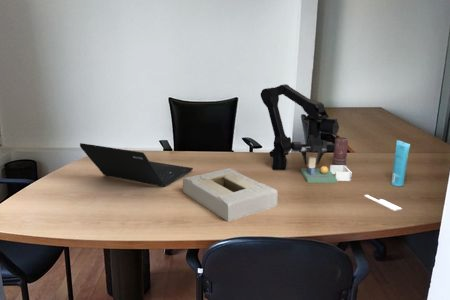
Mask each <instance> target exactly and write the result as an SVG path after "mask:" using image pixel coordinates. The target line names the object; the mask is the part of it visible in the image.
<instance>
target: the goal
mask: <svg viewBox="0 0 450 300" xmlns="http://www.w3.org/2000/svg"><path fill="white" fill-rule="evenodd" d="M329 170H330V171H331V172H332V174H333V175H334V176H335V177H336V179H337V182H339V181H340V182H351V181H352V175H353V172H352V171H351V170H350V169H349V168H348V166H347V165H333V164H330V165H329Z"/></svg>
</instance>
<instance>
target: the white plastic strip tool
mask: <svg viewBox="0 0 450 300" xmlns="http://www.w3.org/2000/svg"><path fill="white" fill-rule="evenodd" d="M364 197H365V198H367V199H369V200H372V201H374V202H376V203H377V204H379V205H381V206H384V207H386V208H387V209H390V210H391V211H395V212H396V211H400V210H403V208H402V207H400V206H398V205H396V204H394V203H391V202H389V201H387V200H385V199H384V198H383V199H382V198H379V199H377V198H375V197H373V196H370V195H369V194H364Z"/></svg>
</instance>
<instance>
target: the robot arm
mask: <svg viewBox="0 0 450 300" xmlns="http://www.w3.org/2000/svg"><path fill="white" fill-rule="evenodd" d="M282 95H283V96H285V97H286V98H288V99H289V100H291V101H292V102H294V103H295V104H297V105H299V106H300V107H301V108H302V110H303V111H304V112H305V114H307V116H305V117H303V120H304V121H307V131H306V140H305V141H306V143H302V142H301V141H292V139H291V137H290V136H289V137H288V136H287V135H286V133H285V129H284V125H283V121H282V117H281V114H280V110H279V100H280V96H282ZM260 98H261V100H262V103H263V104H264V105H265V107H266V108H267V111H268V115H269V119H270V124H271V127H272V131H273V134H274V135H273V136H274V140H273V149H272V150H271V151H269V156H270V157H271V165H270V167H271V169H272V170H273V171H276V170H277V171H280V170H281V171H282V170H283V171H286V170H287V166H288V159H287V156H288V155H289V153H291V150H292V151H294V152H299V153H301V156H302V158H303V159H302V160H303V162H304V164H305V165H307V152H308V151H307V149H310V151H311V152H313V153H315V152H317V155H316V165H317V166H318V165H319V164H320V162H321V160H322V159H323V156H324V155H325V154H326V153H328V152H334V151H335V143H333V142H332V141H328V140H327V139H322V135H321V133H323V134H328V135H331V136H332V135H333V136H336V135H337V134H338V132H339V130H340V125H339V122H338V119H337V118H331V117H329V114H328V113H327V111H326V109H325V105H324V103H323V102H320V101H318V100H315V99H311V98H309V97H307V96H305V95H304V94H302V93H300V92H299V91H297V90H296V89H294V88H293V87H291V86H290V85H289V84H280V85H278V86H275V87H267V88H263V89H262V90H261V92H260Z"/></svg>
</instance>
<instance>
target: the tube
mask: <svg viewBox="0 0 450 300" xmlns="http://www.w3.org/2000/svg"><path fill="white" fill-rule="evenodd" d="M395 145H396V146H395V153H394V159H393V160H394V161H393V167H392V173H391V174H392V175H391V185H392V186H395V187H402V186H404V184H405V177H406V170H407V165H408V164H407V163H408V159H409V152H410V148H411V144H410V143H407V142H404V141H402V140H398V139H396V143H395Z"/></svg>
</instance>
